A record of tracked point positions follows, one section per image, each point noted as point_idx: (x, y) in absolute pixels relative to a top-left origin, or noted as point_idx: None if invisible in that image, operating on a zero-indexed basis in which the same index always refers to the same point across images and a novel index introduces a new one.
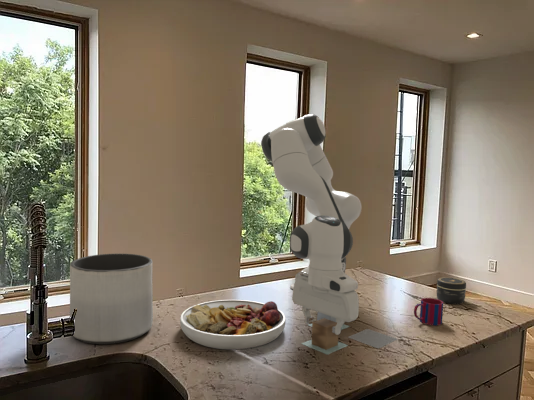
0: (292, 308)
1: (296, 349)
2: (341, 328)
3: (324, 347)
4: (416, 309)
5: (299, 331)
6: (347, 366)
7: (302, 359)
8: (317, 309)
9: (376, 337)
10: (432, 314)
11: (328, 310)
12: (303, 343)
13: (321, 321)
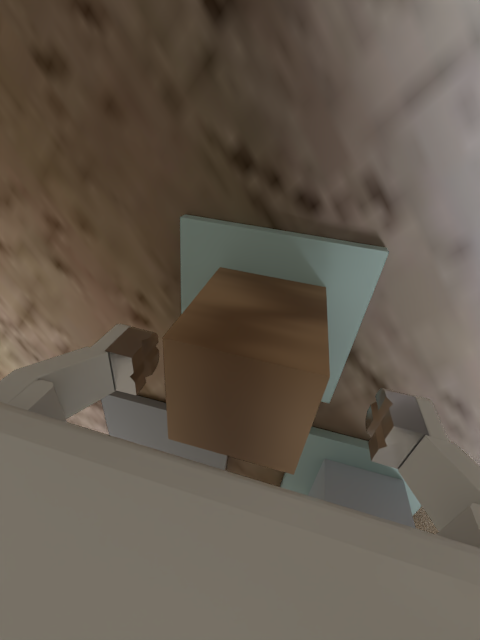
0: None
1: (390, 176)
2: (292, 481)
3: (228, 272)
4: None
5: (473, 407)
6: (60, 185)
7: (274, 48)
8: (248, 510)
9: None
10: None
11: (30, 488)
12: (374, 264)
13: (274, 421)
